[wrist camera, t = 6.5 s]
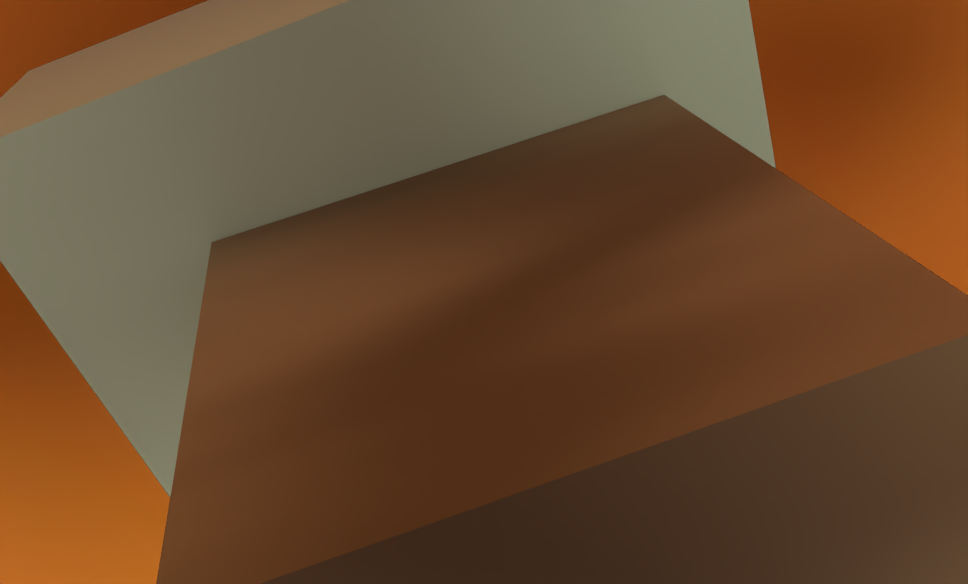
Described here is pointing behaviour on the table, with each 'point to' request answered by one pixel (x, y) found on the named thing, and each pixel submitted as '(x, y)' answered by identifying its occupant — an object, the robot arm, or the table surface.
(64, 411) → the table surface
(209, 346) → the walnut cube
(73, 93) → the sage block
